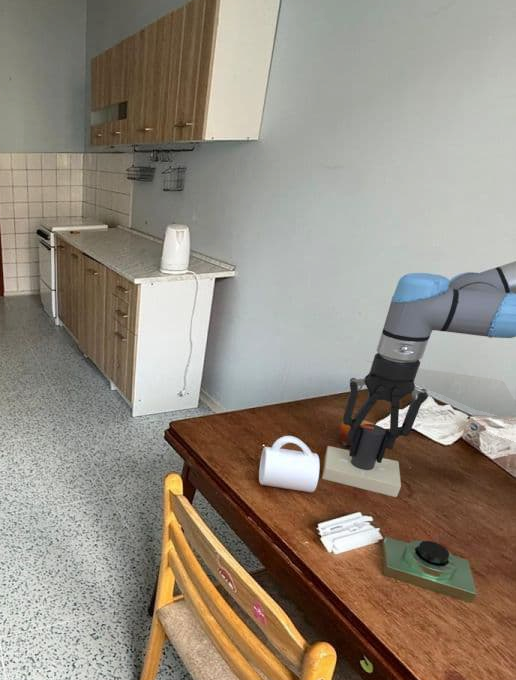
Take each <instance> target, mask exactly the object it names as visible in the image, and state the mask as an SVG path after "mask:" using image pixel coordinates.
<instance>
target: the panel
mask: <svg viewBox="0 0 516 680" xmlns="http://www.w3.org/2000/svg"><path fill="white" fill-rule="evenodd" d="M349 450H350V449H344V448H339V447H335V446H331V445H327V447H326V450H325V451H326V452H325V455H324V459H323V460H324V461H323V468H322V475H321V479H322V480H324V481H330V482H332V483H338V484H341V485H345V486H348V487H349V486H350V487H353V488H357V489H360V490H361V489H362V490H365V491H368V492H369V491H370V492H373V493H377V494H381V495H386V496H389V497H393V498H397V497H398V496H399V493H400V490H401V487H402V483H401V471H400V464H399V461H398V460H394V459H389V458H386V457H385V458H384V457H383V459H382V461H381V463H378V462H377V460H376V463H375V465H374V468H373V469H371V470H363V469H359V468H357V467H355V466H353V465H352V463H351V459H352V457H351V456H349Z"/></svg>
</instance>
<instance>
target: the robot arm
mask: <svg viewBox="0 0 516 680" xmlns="http://www.w3.org/2000/svg"><path fill="white" fill-rule="evenodd" d="M433 331H436V332H446V333H454V334H461V335H470V336H479V337H487V338H489V339H492V338H497V339H513V338H516V260H515V261H512V262H509V263H506V264H503V265H500V266H497V267H494V268H490V269H486V270H483V271H481V272H473V271H472V272H471V271H470V272H461V273H459V274H457V275H455V276H453V277H452V278H451V279H449V278H448V277H447V276H444V275H441V274H434V273H433V274H432V273H427V272H412V273H411V272H410V273H407V274H404V275H403V276H401V277H400V278H399V279H398V282H397V285H396V288H395V290H394V292H393V296H392V297H391V300H390V304H389V308H388V311H387V314H386V318H385V321H384V324H383V328H382V331H381V333H380V336H379V337H380V338H379V340H378V344H377V347H376V353H375V354H374V357H373V360H372V363H371V367H370V369H369V372H368V374H367V375H365V377H364V378H358V379H357V378H355V377H352V378H350V379H349V390H350V391H349V395H348V398H347V402H346V406H345V410H344V414H343V420H342V421H343V423H344V424H345V425H349V426H350V431H349V434H348V441H352V444H351V446H350V447H349V449H348V450H349V456H351V457H353V456H354V453H355V450H356V447H357V444H358V441H359V437H360V434H361V423H362V422H363V420H364V421H365V419H366V417H367V416H368V414H369V413H370V411H371V410H372V408H373V407H374V405H375V404H376V403H377V401H386V402H389V403H390V415H389V416H390V420H389V430H387V429H385V430H386V434H385V437H384V440H383V442H382V445H381V448H380V451H379V454H378V457H377V462H378V463H381V461H382V459H383V458H384V456H385V453H386V450H387V449H388V450H392V449H393V448H394V445H395V442H396V439H398V438H399V436H403V437H409V436H410V434H411V432H412V428H413V426H414V423H415V421H416V418H417V417H418V414H419V410H420V409H421V405H423V403H424V402H425V401H426V400H427V399H428V398H429V395H428V390H427V389H425V388H419V387H417V386H416V385H415V379H416V377H417V374H418V371H419V368H420V366H421V361H420V360H422V358H424V354H425V351H426V349H427V346H428V343H429V340H430V338H431V334H432V332H433ZM363 386H366V389H367V390H368V392H369V393H368V394H367V397H366V399H365V400H364V402H363V403H362V405H361V406H360V408H359V410H358V411H357V413H356V414H355V415H354V417H352V416H353V412H354V408H355V405H356V402H357V399H358V394H359V393H358V392H359V391H361V390H362V389H363ZM409 394H411V398H412V399H411V400H410V404H409V407H408V409H407V411H406V414H405V417H404V419H403V421H402V425H401V426H399V417H400V416H399V415H400V400H401V399H403V398H405V397H406V396H408V395H409ZM352 418H354V419H352Z"/></svg>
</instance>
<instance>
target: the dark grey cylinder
mask: <svg viewBox="0 0 516 680" xmlns="http://www.w3.org/2000/svg"><path fill="white" fill-rule="evenodd" d="M386 430H387V429H385V428H384V427H383V426H379V425H377V424H374V423H373V424H364V425H362V428H361V434H360V437H359V441H358V444H357V447H356V450H355V453H354V456H353V457H352V459H351V463H352V465H353V466H355V467H357V468H359V469H363V470H371V469H373V468H374V465H375V463H376V460H377V457H378V454H379V451H380V448H381V445H382V442H383V440H384V437H385V434H386Z"/></svg>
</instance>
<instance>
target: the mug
mask: <svg viewBox="0 0 516 680" xmlns="http://www.w3.org/2000/svg"><path fill="white" fill-rule="evenodd" d="M286 444H295V445H296V446H298V447H299V448H300V449H301V450H302V451H300V450H295V449H287V448H286V449H285V448H282V447H283V446H284V445H286ZM320 466H321V463H320V457H319V455H318V453H315V452H312V451H311V449H310V448H309V447H308V445H307V444H306V443H305V442H304V441H302V440H301V439H300V438H298V437H296V436H292V435H284V436H281V437H279V438H277V439H276V440H275V441H274V442H273V444H272V446H263V449H262V452H261V455H260V460H259V467H258V468H259V471H258V482H259V484H260V485H261V486H266V487H274V488H281V489H288V490H293V491H299V492H307V493H314V492H315V490H316V489H317V486H318V484H319V478H320V471H321V470H320Z"/></svg>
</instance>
